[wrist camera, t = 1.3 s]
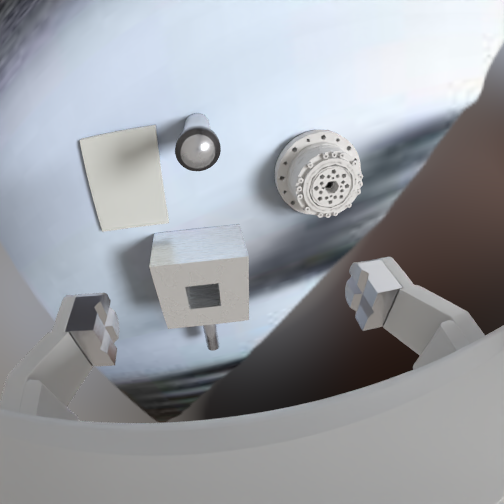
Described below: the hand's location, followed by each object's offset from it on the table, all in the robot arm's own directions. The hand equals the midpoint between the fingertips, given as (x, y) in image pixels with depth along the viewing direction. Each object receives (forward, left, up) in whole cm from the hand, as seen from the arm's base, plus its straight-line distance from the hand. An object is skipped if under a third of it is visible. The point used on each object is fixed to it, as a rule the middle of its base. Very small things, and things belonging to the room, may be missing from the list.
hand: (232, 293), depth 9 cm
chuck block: (+21, -2, -22) cm, 31 cm away
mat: (+5, -9, -22) cm, 24 cm away
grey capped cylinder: (0, -1, -22) cm, 22 cm away
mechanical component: (+6, +12, -23) cm, 26 cm away
